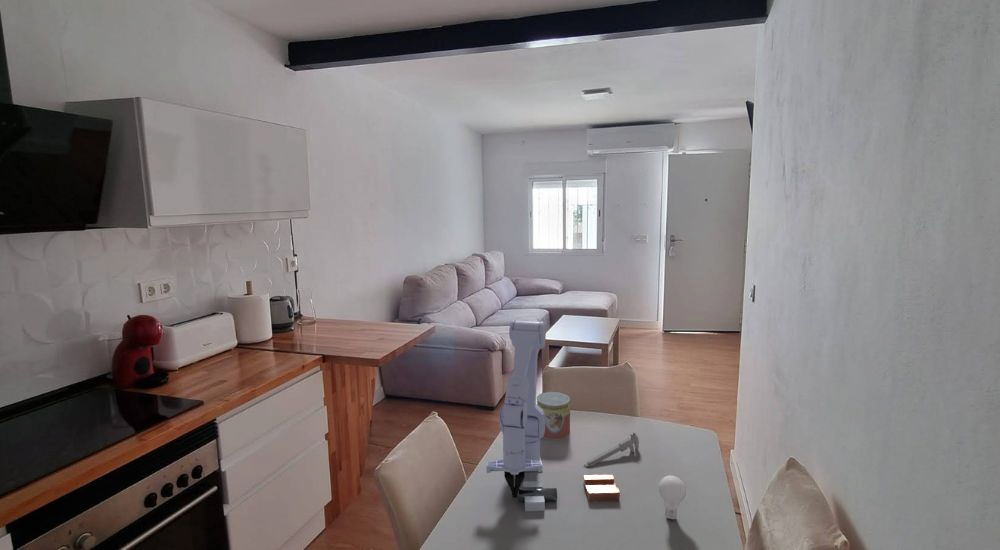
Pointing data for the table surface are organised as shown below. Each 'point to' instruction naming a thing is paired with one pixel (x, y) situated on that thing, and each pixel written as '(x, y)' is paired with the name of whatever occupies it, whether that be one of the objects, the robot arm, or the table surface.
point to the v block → (601, 488)
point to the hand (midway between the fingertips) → (514, 495)
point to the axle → (538, 493)
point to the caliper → (616, 449)
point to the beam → (534, 497)
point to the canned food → (555, 414)
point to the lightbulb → (672, 494)
